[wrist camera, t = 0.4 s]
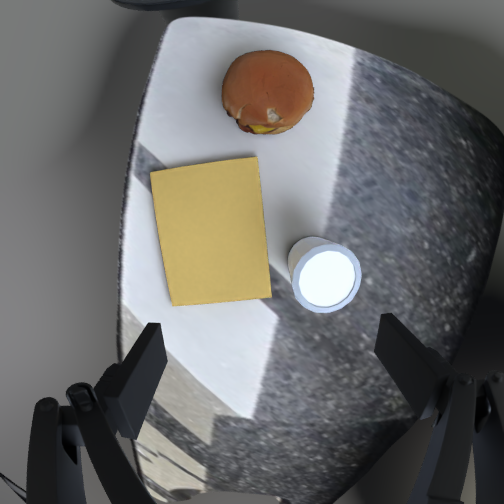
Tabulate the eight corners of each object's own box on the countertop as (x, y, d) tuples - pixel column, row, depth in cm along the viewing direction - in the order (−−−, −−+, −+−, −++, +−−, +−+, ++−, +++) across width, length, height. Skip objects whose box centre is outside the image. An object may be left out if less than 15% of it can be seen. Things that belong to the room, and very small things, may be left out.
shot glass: (293, 223, 31) (306, 234, 24) (347, 240, 32) (372, 255, 25) (274, 279, 32) (281, 304, 26) (327, 294, 33) (345, 320, 26)
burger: (286, 50, 26) (292, 32, 22) (323, 116, 28) (335, 106, 24) (207, 81, 27) (201, 66, 22) (243, 150, 29) (243, 144, 25)
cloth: (150, 172, 29) (149, 172, 29) (257, 156, 29) (257, 156, 29) (173, 305, 33) (172, 306, 33) (271, 296, 33) (271, 297, 33)
